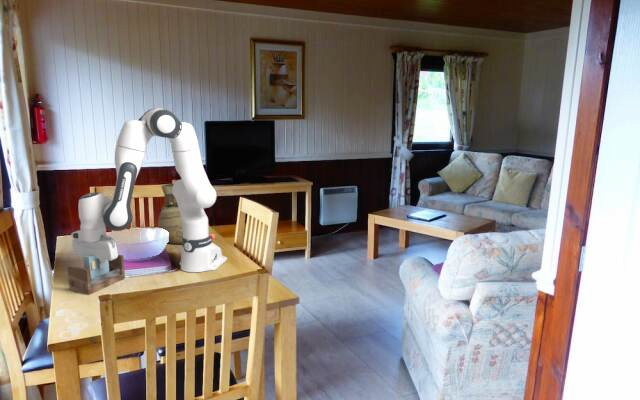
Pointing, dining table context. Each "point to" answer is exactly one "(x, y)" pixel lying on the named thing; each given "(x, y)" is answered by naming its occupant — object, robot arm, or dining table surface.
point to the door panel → (95, 266)
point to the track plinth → (83, 284)
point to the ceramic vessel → (171, 216)
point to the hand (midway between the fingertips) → (97, 267)
